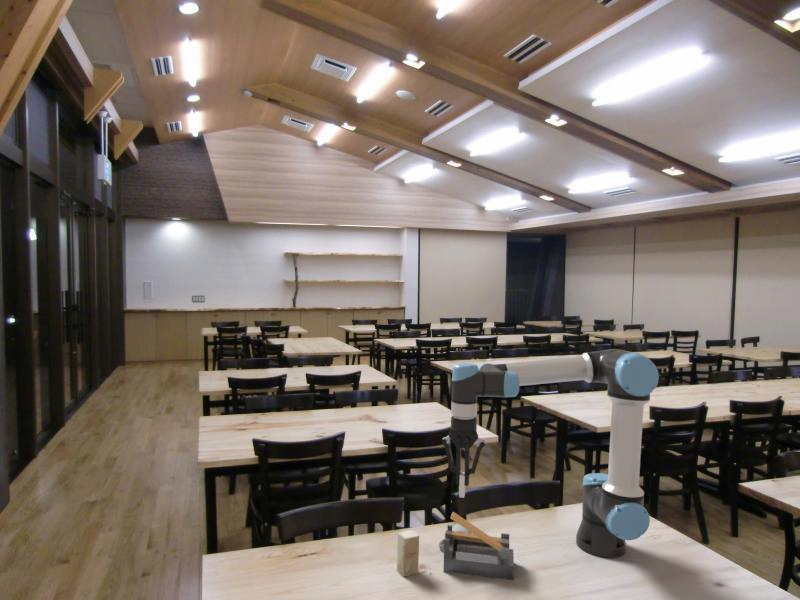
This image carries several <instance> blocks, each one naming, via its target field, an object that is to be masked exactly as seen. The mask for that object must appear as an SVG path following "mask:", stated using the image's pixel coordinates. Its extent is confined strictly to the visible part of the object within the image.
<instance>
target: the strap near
mask: <svg viewBox="0 0 800 600" xmlns="http://www.w3.org/2000/svg"><path fill="white" fill-rule="evenodd" d="M450 519H451V521H452V520H453V522H455V523H457V524H460V525H461V526H463V527H464V528H465V529H467V530H468V531H470V532H471V533H472V534H474V535H476V536H477V537H479V538H480V539H482V540H483V541H485V542H486V543H487V544H489V545H490V546H492V547H493V548H495V549H496V550H498V551H499V552H501V548H508V547H507V546H503V545H502V544H500V543H499V542H497V541H496V540H495V539H493V538H492V537H493V536H491V535H488V534H487V533H485V532H484V531H483V530H481V529H480V528H478V527H477V526H476V525H474V524H472V523H471V522H469V521H468V520H466V519H465V518H464V517H462V516H460V515H459V514H458V513H456V512H455V511H452V513H451V515H450ZM490 536H491V537H490Z"/></svg>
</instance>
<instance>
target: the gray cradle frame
mask: <svg viewBox="0 0 800 600" xmlns="http://www.w3.org/2000/svg"><path fill="white" fill-rule="evenodd" d="M500 534H501V535H500V538H504V537H505V538H507V539H508V540H507V539H501V544H502V545H503V546H507V547H508V548H501V552H499V551H498V550H496V549H495V548H493V547H492V546H490V545H489V544H486V543H479V542H473V541H466V540H459V543H455V547H454V552H453V557H452V559H446V558H444V557H443V572H444V573H451V574H457V575H467V576H474V577H476V576H477V577H484V578H491V579H492V578H493V579H500V580H508V581H509V580H510V581H514V579H515V578H514V575H515V572H514V571H515V567H514V566H515V563H514V557H515V556H514V549H513V548H512V549H511V548H510V533H504V532H501V533H500Z"/></svg>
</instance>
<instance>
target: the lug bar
mask: <svg viewBox="0 0 800 600" xmlns="http://www.w3.org/2000/svg"><path fill="white" fill-rule="evenodd" d="M452 527H453V525H451V524H447V529H446V530H449V531H446V530H445V532H446V539H445V538H443V539H444V550H443V559H444V558H446V559H452V557H453V552H454V547H455V539H452V538H451V531H452Z"/></svg>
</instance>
